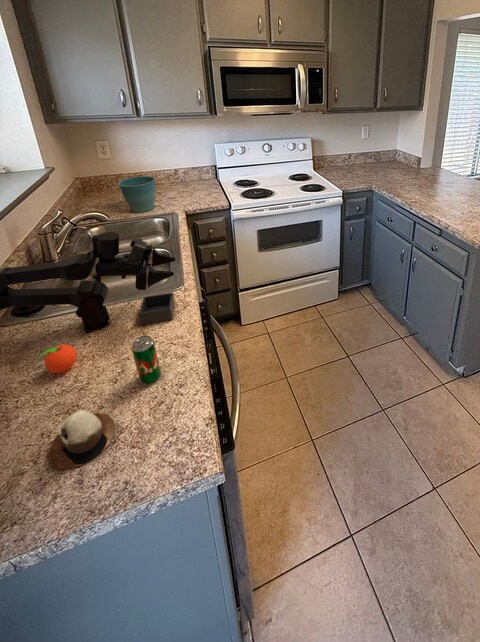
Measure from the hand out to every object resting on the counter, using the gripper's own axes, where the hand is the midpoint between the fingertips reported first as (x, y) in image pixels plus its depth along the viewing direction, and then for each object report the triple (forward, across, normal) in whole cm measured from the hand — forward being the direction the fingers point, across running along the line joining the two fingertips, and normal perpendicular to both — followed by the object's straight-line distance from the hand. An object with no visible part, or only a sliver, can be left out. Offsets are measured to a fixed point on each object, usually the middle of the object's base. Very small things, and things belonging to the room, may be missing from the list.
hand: (174, 266), depth 115 cm
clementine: (-26, -18, +22) cm, 38 cm away
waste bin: (-4, -1, +17) cm, 18 cm away
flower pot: (-20, +103, +20) cm, 107 cm away
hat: (-16, -42, +20) cm, 49 cm away
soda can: (-4, -28, +17) cm, 34 cm away
